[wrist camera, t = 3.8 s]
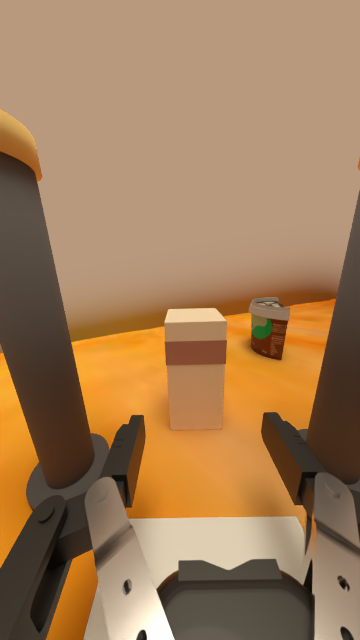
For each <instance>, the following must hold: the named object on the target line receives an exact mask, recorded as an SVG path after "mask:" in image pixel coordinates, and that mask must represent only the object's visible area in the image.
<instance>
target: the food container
mask: <svg viewBox="0 0 360 640" xmlns="http://www.w3.org/2000/svg"><path fill="white" fill-rule="evenodd" d="M248 311H249V312H250V313H252V335H251V347H252V349H253V350H254V351H255V352H256V353H258V354H260V355H262V356H265V357H268V358H272V359H277V360H281V358H282V352H283V346H284V341H285V335H286V329H287V323H288V321H289V316H290V308H285V307H283V305H282V304H279V303H278V298H277V297H270V298H258V299H254V300H252V303H251V304H250V307H249V310H248Z"/></svg>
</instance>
